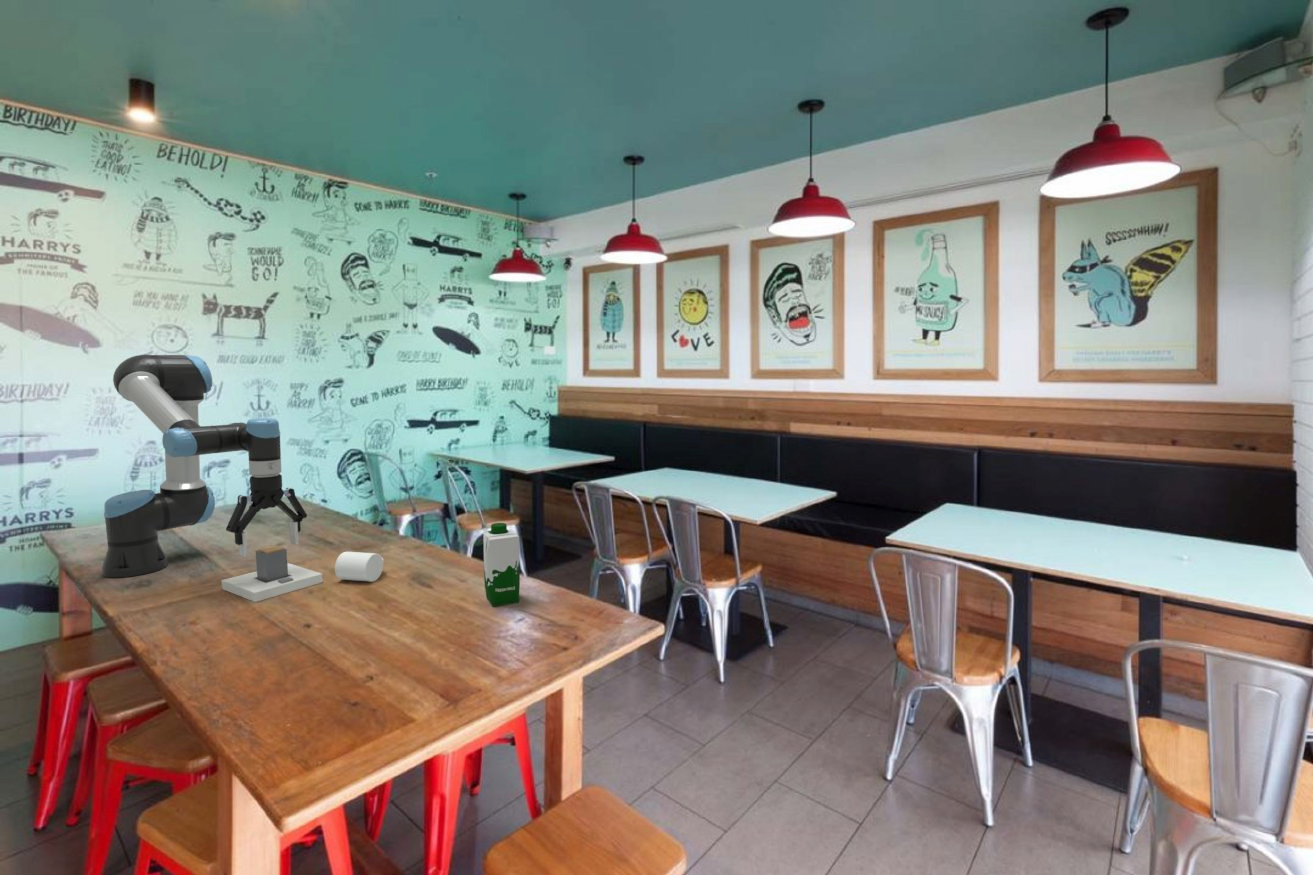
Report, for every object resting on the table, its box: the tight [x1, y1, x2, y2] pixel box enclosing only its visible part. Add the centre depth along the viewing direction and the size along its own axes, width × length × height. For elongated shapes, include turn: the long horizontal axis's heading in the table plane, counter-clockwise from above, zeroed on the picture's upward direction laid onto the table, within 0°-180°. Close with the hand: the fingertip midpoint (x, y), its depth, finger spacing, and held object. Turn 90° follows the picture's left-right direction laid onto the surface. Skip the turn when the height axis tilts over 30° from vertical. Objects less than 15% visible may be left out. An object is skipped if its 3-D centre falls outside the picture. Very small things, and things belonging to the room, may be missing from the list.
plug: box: [255, 544, 288, 583], centre depth 175 cm, size 6×6×10 cm
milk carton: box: [483, 522, 521, 608], centre depth 164 cm, size 9×9×20 cm
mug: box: [334, 551, 385, 583], centre depth 183 cm, size 12×10×8 cm
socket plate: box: [221, 562, 323, 603], centre depth 176 cm, size 18×18×3 cm
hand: (269, 549), depth 175 cm, fingers open, 13 cm apart
